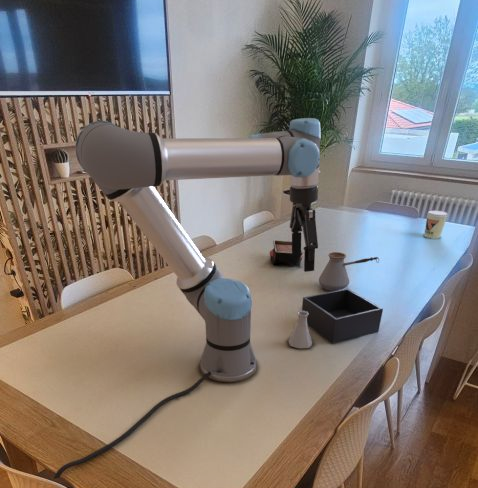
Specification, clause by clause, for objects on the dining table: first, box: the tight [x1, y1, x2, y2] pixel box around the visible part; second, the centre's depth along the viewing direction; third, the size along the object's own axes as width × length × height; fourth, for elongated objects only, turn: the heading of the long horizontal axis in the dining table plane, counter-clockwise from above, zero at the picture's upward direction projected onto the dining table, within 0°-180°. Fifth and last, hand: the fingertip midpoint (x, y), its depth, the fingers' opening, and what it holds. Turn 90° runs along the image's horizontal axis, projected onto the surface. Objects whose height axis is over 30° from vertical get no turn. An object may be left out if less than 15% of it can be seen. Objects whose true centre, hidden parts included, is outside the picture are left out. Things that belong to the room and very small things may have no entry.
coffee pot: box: [318, 251, 380, 292], centre depth 160 cm, size 21×12×15 cm, turn 54°
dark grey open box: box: [301, 287, 384, 344], centre depth 138 cm, size 18×18×8 cm
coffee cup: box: [423, 210, 448, 240], centre depth 222 cm, size 9×9×12 cm
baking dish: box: [269, 239, 304, 268], centre depth 188 cm, size 14×18×10 cm
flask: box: [288, 310, 313, 349], centre depth 128 cm, size 7×7×10 cm
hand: (302, 262), depth 127 cm, fingers open, 13 cm apart
